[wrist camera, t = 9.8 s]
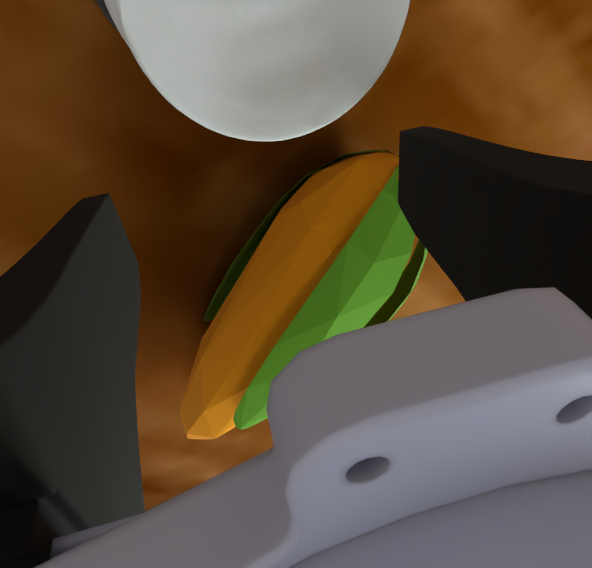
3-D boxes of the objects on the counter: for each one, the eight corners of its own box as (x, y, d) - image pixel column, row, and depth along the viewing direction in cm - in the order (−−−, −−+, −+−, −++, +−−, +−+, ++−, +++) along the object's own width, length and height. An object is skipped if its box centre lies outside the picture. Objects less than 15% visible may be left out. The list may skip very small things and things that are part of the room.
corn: (514, 248, 19) (256, 510, 27) (436, 169, 25) (244, 405, 33) (373, 159, 15) (129, 490, 24) (322, 93, 21) (142, 376, 30)
